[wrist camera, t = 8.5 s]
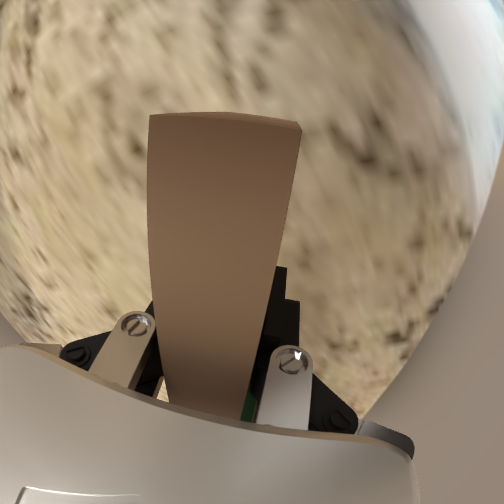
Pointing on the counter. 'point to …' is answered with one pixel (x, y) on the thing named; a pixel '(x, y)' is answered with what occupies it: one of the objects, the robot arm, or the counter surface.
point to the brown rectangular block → (215, 246)
